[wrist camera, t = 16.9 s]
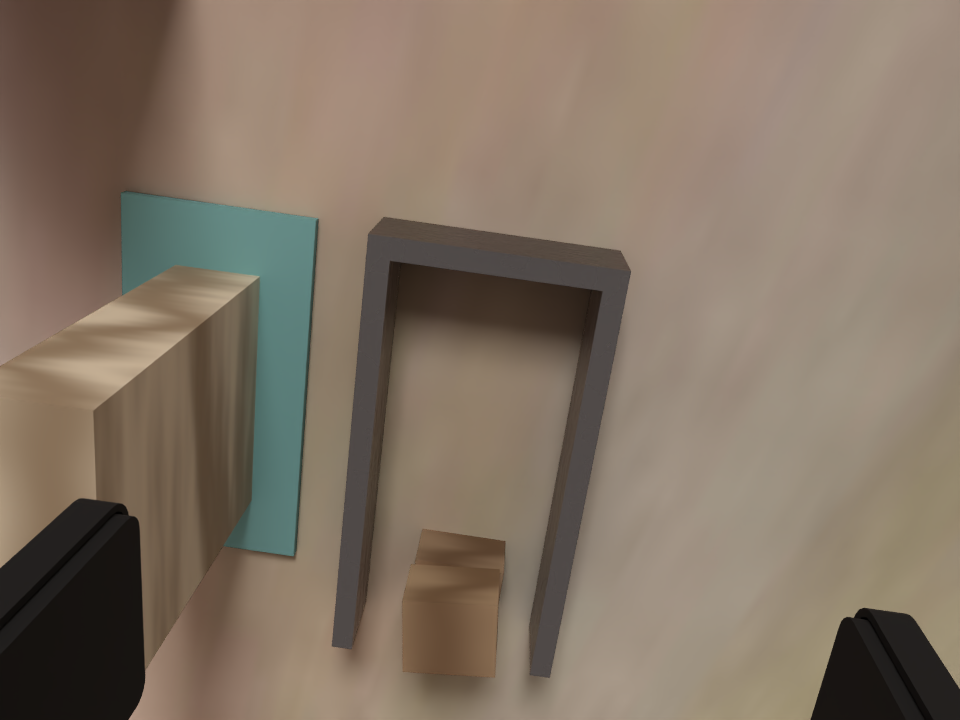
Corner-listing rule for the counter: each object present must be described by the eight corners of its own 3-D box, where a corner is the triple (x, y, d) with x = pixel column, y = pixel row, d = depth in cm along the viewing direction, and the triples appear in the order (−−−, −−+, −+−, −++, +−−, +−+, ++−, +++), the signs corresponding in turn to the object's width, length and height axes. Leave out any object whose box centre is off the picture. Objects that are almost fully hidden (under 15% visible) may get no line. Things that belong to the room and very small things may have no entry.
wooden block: (259, 276, 39) (92, 410, 24) (251, 500, 43) (104, 735, 28) (175, 264, 39) (-44, 391, 24) (175, 489, 43) (-13, 718, 28)
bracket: (620, 250, 38) (630, 271, 34) (547, 626, 45) (549, 677, 42) (383, 217, 38) (368, 233, 35) (347, 597, 45) (331, 646, 42)
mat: (318, 218, 38) (315, 220, 38) (296, 551, 45) (293, 556, 44) (125, 191, 38) (121, 192, 38) (130, 527, 45) (125, 532, 44)
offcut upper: (499, 569, 41) (497, 606, 38) (497, 636, 42) (494, 677, 39) (410, 564, 41) (402, 600, 38) (411, 631, 42) (402, 671, 40)
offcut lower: (505, 540, 44) (503, 573, 41) (494, 603, 45) (492, 639, 42) (422, 527, 44) (415, 559, 41) (414, 591, 45) (406, 626, 42)
